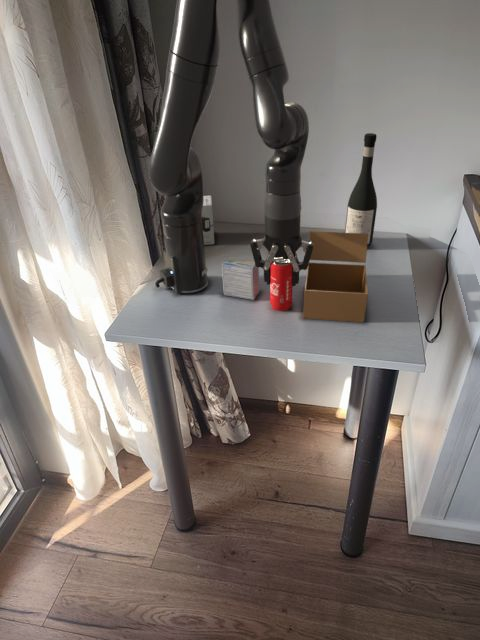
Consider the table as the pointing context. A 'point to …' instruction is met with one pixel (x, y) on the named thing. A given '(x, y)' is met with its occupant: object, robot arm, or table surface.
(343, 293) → the carton
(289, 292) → the beverage can
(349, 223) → the wine bottle
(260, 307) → the table surface
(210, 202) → the ink box
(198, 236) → the robot arm
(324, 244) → the flap
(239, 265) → the medicine box
